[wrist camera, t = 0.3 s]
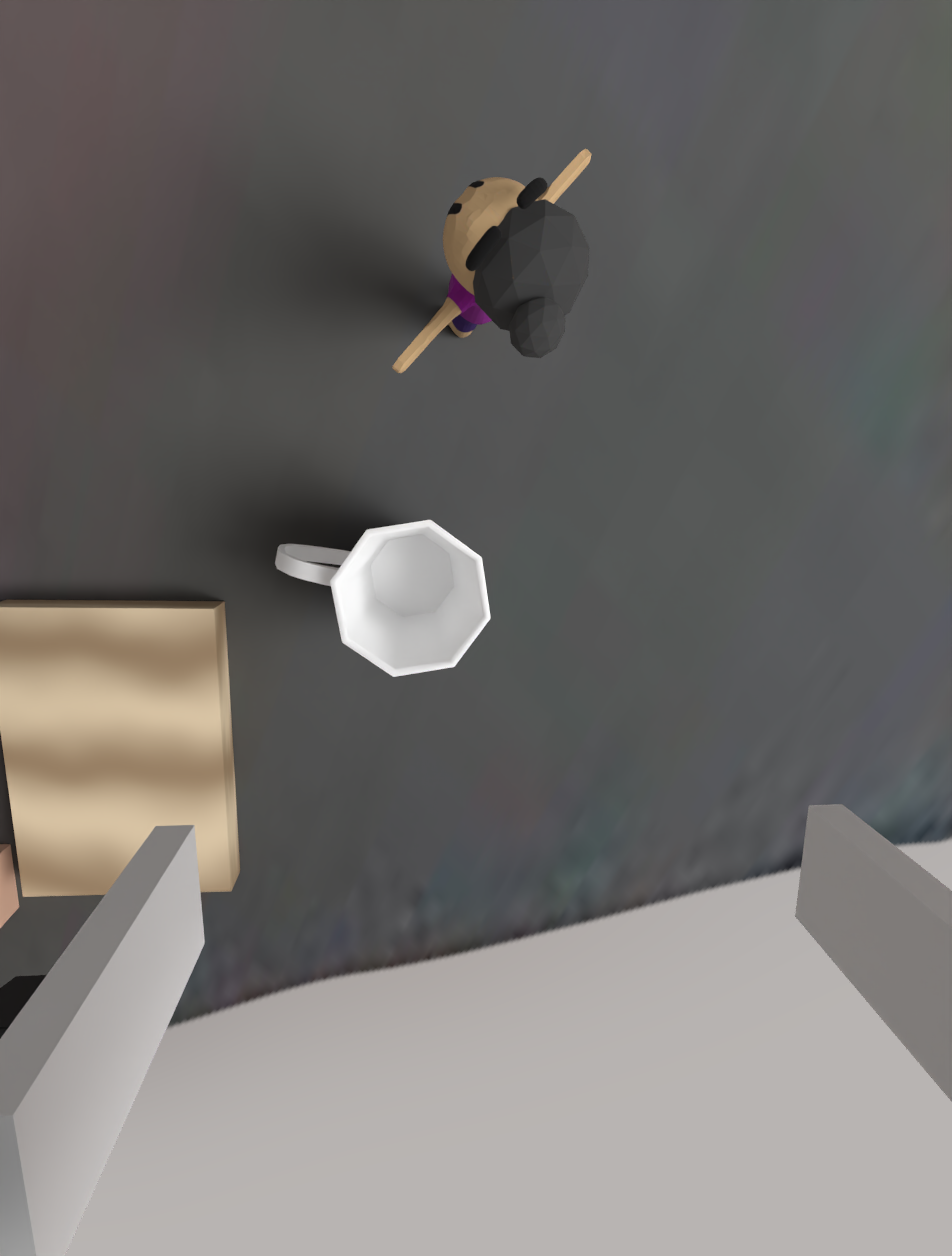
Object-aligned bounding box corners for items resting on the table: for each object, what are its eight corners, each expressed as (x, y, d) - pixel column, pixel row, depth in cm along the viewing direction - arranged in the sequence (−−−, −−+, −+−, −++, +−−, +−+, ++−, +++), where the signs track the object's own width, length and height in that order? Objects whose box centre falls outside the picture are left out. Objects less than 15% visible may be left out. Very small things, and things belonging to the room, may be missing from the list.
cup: (460, 647, 39) (471, 693, 31) (279, 607, 38) (243, 645, 30) (491, 524, 38) (511, 539, 30) (304, 477, 36) (274, 481, 28)
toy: (517, 205, 34) (591, 13, 20) (595, 291, 35) (719, 171, 21) (373, 368, 35) (343, 302, 21) (453, 446, 36) (478, 435, 22)
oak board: (6, 599, 36) (-17, 607, 34) (224, 601, 37) (213, 608, 35) (42, 875, 40) (23, 896, 38) (240, 871, 41) (231, 891, 39)
